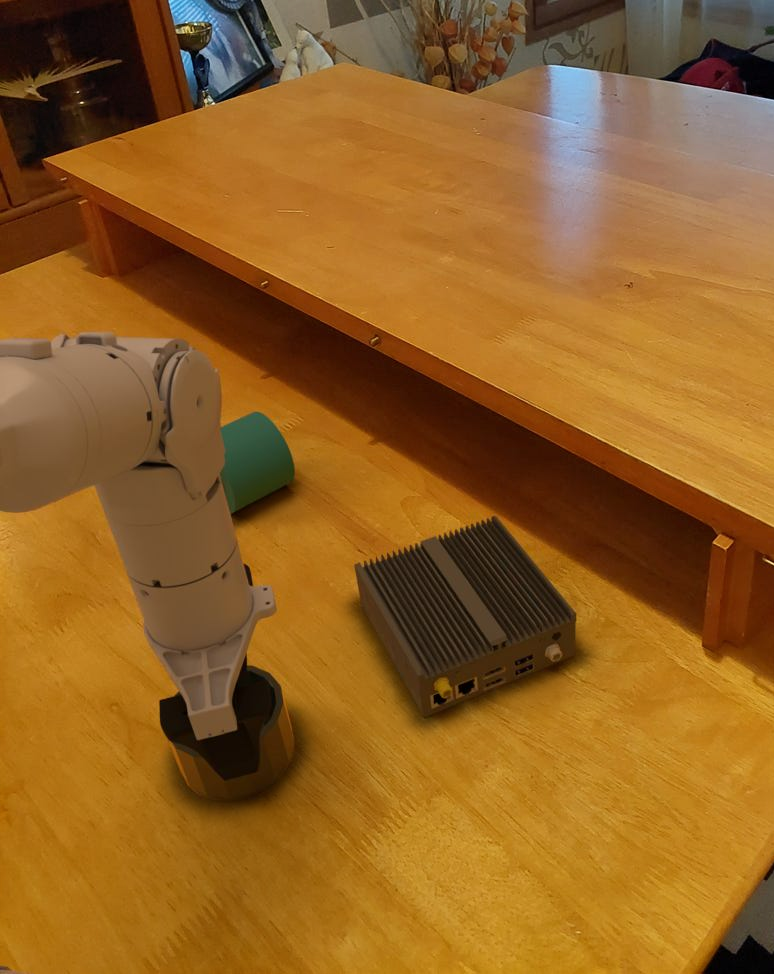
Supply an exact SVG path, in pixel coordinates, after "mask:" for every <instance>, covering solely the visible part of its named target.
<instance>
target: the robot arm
mask: <svg viewBox="0 0 774 974" xmlns="http://www.w3.org/2000/svg"><path fill="white" fill-rule="evenodd" d="M222 398H223V395H222V384H221V377H220V373H219V369H218V368H215V367H214V365H213V363H212V361H211V360H210V358H209V356H207V354H206V353H204V352H203V351H201V350H198V349H197V350H196V348H195V347H194V346H192V345H190V342H189V341H187V340H186V339H183V338H175V337H174V338H172V337H171V338H170V337H167V338H166V337H140V336H139V337H136V336H116V335H115V333H113V332H111V331H93V330H91V331H90V330H89V331H84V332H79V333H77V335H76V337H73V336H68V335H67V334H66V333H60V334H59V335H57V336H56V337H54V338H53V339H52V340H50V339H48V338H39V337H11V338H10V337H9V338H1V339H0V512H4V513H10V514H11V513H12V514H21V513H22V514H23V513H28V512H34V511H36V510H40V509H42V508H44V507H46V506H49V505H51V504H53V503H56V502H59V501H60V500H63V499H65V498H67V497H70V496H72V495H74V494H77V493H80V492H82V491H84V490H86V489H88V488H90V487H93V486H94V488H95V491H96V494H97V496H98V499H99V502H100V504H101V507H102V511H103V513H104V515H105V519H106V521H107V524H108V526H109V529H110V532H111V534H112V537H113V540H114V542H115V545H116V548H117V550H118V553H119V556H120V559H121V561H122V565H123V567H124V571H125V573H126V576H127V578H128V581H129V583H130V586H131V590H132V592H133V594H134V597H135V601H136V603H137V605H138V608H139V611H140V614H141V616H142V619H143V623H142V628H143V633H144V636H145V639H146V641H147V643H148V645H149V647H150V649H151V651H152V652H153V653H154V654H155V657H156V658H157V660H158V661H159V662H160V664H161V666H162V667H163V669H164V670H165V672H166V674H167V675H168V676H169V679H170V680H171V682H172V683H173V684H174V686H175V687H176V689H177V691H179V692H180V693H181V695H177V696H174V695H173V696H170V697H166V698H161V699H159V700H158V704H159V723H160V724H159V725H160V728H161V730H162V732H163V734H164V736H165V737H166V739H167V738H168V739H167V741H168V740H169V741H171V742H174V743H178V744H181V745H184V746H187V747H189V748H191V749H193V750H194V751H196V752H197V753H198V754H199V755H200V756H201V757H202V758H203V759H204V760H205V761H206V762H207V763H208V764H209V765H210V766H211V768H212V769H213V770H214V771H215V772H216V773H217V774H218V775H219V776H220V777H221V778H222V779H223V780H225V781H226V780H230V779H234V778H237V777H241V776H245V775H248V774H252V773H256V772H257V771H258V770H259V766H260V732H261V729H262V726H263V723H264V722H265V720H266V719H267V717H268V716H269V713H270V707H271V695H270V689H269V683H268V680H264V681H260V682H256V683H252V684H248V685H244V686H240V687H235V684H236V682H237V679H238V677H241V676H245V675H246V671H247V665H248V653H247V652H248V650H249V648H250V647H249V646H250V644H251V641H252V637H253V635H254V632H255V629H256V626H257V624H258V622H260V621H261V620H263V619H266V618H270V617H272V616H274V615H275V614H276V613H277V610H278V609H277V602H276V596H275V593H274V592H275V591H274V589H273V587H272V586H271V585H269V584H261V585H257V586H254V582H253V576H252V571H251V568H250V566H249V565H248V564H246V563H244V561H243V556H242V554H241V550H240V545H239V541H238V538H237V534H236V531H235V527H234V522H233V519H232V514H230V511H229V507H228V503H227V500H226V496H225V492H224V488H223V484H222V481H221V477H220V472H221V470H222V469H223V467H224V465H225V458H224V453H225V447H224V443H223V439H222V434H221V427H222V426H221V423H222V421H221V420H222V407H223V406H222V405H223V404H222V403H223V401H222V400H223V399H222ZM0 974H33V973H32V972H23V971H16V970H11V968H10V967H9V966H6V965H0Z"/></svg>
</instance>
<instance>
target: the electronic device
mask: <svg viewBox="0 0 774 974" xmlns="http://www.w3.org/2000/svg"><path fill="white" fill-rule="evenodd" d="M464 527H465V529H464V528H463V526H461V527H460V528H459V530H458V529H457V528H455V529H454V533H453V532H452V530H450V531H448V534H447V533H446V532H444V533H443V537H442V536H441V534H438V537H437V536H431V537H429V538H426V539H422V540H420V541H419V542H420V543H418V542H415V543H414V547H413V545H412V544H409V550H408V549H407V547H406V546H403V552H402V550H401V549H400V548H398V549H397V550H398V551H397V554H396V552H395V550H393V551H392V556H391V555H390V553H389V552H387V553H386V558H385V556H384V555H383V554H381V555H380V560H379V559H378V557H377V556H375V562H374V560H373V559H372V558H369V564H368V562H367V560H363V565H362V564H361V562H357V563H355V564H353V565H354V572H355V577H356V583H357V588H358V589H357V590H358V594H359V600H360V601H359V602H360V605H361V607H362V609H363V612H364V613H365V615H366V617H367V618H368V621H369V622H370V624H371V627H372V628H373V629H374V631H375V633H376V635H377V637H378V639H379V640H380V642H381V644H382V646H383V647H384V649H385V651H386V653H387V655H388V656H389V658H390V660H391V661H392V664H393V665H394V668H395V669H396V671H397V672H398V674H399V676H400V678H401V680H402V682H403V683H404V685H405V687H406V688H407V691H408V692H409V695H410V697H412V700H413V701H414V703H415V705H416V707H417V709H418V710H419V712H420V714H421V715H422V717H423V718H428V717H429V716H433V715H435V714H437V713H440V712H442V711H444V710H446V709H449V708H452V707H454V706H456V705H459V704H461V703H464V702H466V701H468V700H471V699H474V698H476V697H479V696H481V695H484V694H486V693H488V692H490V691H494V690H496V689H498V688H500V687H503V686H505V685H507V684H510V683H513V682H515V681H517V680H520V679H521V678H524V677H525V678H526V677H527V676H530V675H531V674H534V673H536V672H539V671H542V670H544V669H546V668H549V667H552V666H554V665H556V664H559V663H561V662H563V661H566V660H568V659H571V658H573V657H575V656H576V625H577V623H576V622H577V613H576V610H574V609H573V608H572V606H571V605H570V604H569V603H568V601H567V600H566V599H565V598H564V597H563V595H562V593H560V591H558V589H557V588H556V587H555V586H554V584H553V583H552V582H551V581H550V579H548V577H547V576H546V575H545V574H544V572H543V571H542V570H541V568H540V567H539V566H538V565H537V564H536V562H535V561H534V560H533V559H532V557H530V555H529V554H528V552H527V551H526V550H525V549H524V548H523V547H522V545H521V544H520V543H519V542H518V541H517V540H516V538H515V537H514V536H513V534H512V533H511V532H510V530H509V529H508V528H507V527H506V526H505V525H504V524H503V522H502V521H501V520H500V519H499V517H498V516H497V515H492V516H491V519H490V518H489V517H487V518H486V522H485V520H484V519H481V522H479V521H476V522H475V525H474V524H473V523H470V526H469V525H468V524H467V525H465V526H464ZM419 544H420V545H419Z"/></svg>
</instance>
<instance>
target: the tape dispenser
mask: <svg viewBox="0 0 774 974" xmlns="http://www.w3.org/2000/svg"><path fill="white" fill-rule="evenodd" d="M221 434H222V439H223V443H224V447H225V453H224V458H225V465H224V467H223V469H222V470H221V472H220V477H221V481H222V484H223V488H224V492H225V496H226V500H227V503H228V507H229V511H230V515H232V514H233V513H236V512H237V511H240V510H241V509H243V508H245V507H247V506H248V505H251V504H253V503H255V502H257V501H259V500H260V499H262V498H264V497H266V496H268V495H270V494H273V492H275V491H278V490H279V489H281V488H283V487H285V486H287V485H289V484H290V483H292V482H293V481H294V479H295V475H296V474H295V473H296V470H295V469H296V468H295V461H294V459H293V455H292V452H291V450H290V447H289V445H288V442H287V441H286V440H285V437H284V435H283V434H282V432H281V431H280V429H279V428H278V427H277V425H276V424H275V423H274V421H272V420H271V419H270V417H268V416H267V415H265V413H263V412H261V411H252V412H250V413H248V414H245V415H244V416H242V417H239V418H237V419H235V420H233V421H231V422H229V423H227V424H225V425H222V426H221Z"/></svg>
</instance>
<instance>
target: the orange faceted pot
mask: <svg viewBox="0 0 774 974" xmlns="http://www.w3.org/2000/svg"><path fill="white" fill-rule="evenodd" d="M264 680H268V683H269V689H270V695H271V707H270V713H269V716H268V717H267V719H266V720H265V722H264V725H265V727H264V728H263V729H262V730H261V732H260V766H259V770H258V771H257V772H256V773H252V774H248V775H245V776H241V777H237V778H234V779H230V780H226V781H225V780H223V779H222V778H221V777H220V776H219V775H218V774H217V773H216V772H215V771H214V770H213V769H212V768H211V766H210V765H209V764H208V763H207V762H206V761H205V760H204V759H203V758H202V757H201V756H200V755H199V754H198V753H197V752H196V751H194V750H193V749H191V748H189V747H187V746H184V745H181V744H178V743H174V742H171V741H169V740H168V738H167V737H166V739H167V741H168V744H169V746H170V750H171V752H172V754H173V756H174V759H175V761H176V765H177V767H178V769H179V772H180V774H181V776H182V777H183V779H184V781H185V783H186V785H187V786H188V788H189V789H190V790H191V791H193V793H195V794H196V795H197V796H199V797H201V798H204V799H206V800H209V801H213V802H219V803H220V802H221V803H225V802H227V803H228V802H229V803H230V802H237V801H242V800H245V799H249V798H252V797H254V796H256V795H258V794H261V793H262V792H263V791H265V790H267V789H268V788H270V787H271V786H273V784H275V783H276V782H278V780H279V779H280V778H281V777H282V776H283V774H285V772H286V771H287V769H288V767H289V766H290V764H291V762H292V760H293V758H294V753H295V745H296V744H295V743H296V742H295V737H294V732H293V727H292V723H291V719H290V715H289V711H288V708H287V703H286V700H285V696H284V692H283V689H282V685H281V684H280V683H279V682H278V681H277V679H276V678H275V677H274V676H273V675H272V674H271V673H270V672H269V671H266V670H265V669H262V668H259V667H257V666H254V665H249V664H247V671H246V675H245V676H241V677H238V679H237V682H236V684H235V687H240V686H244V685H248V684H252V683H256V682H260V681H264ZM177 695H181V693H180V692H179V690H177V692H176V693H175V694H174V695H173V696H177Z"/></svg>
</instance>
